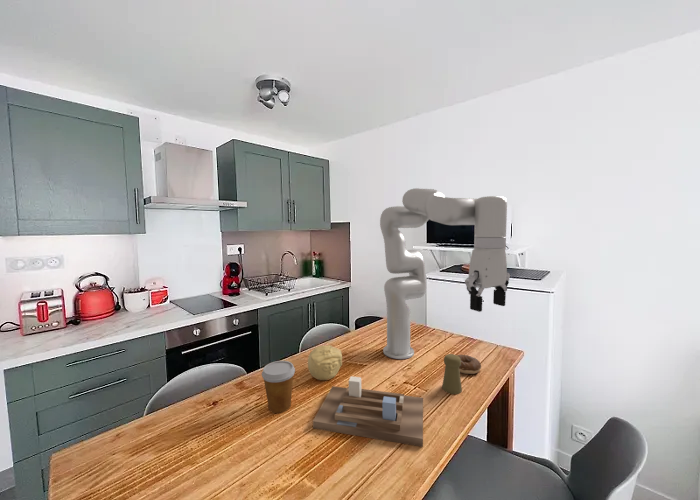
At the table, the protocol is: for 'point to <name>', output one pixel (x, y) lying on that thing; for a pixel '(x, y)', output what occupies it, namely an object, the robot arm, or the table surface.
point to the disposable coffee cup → (278, 385)
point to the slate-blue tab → (389, 408)
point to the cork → (452, 374)
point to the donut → (469, 364)
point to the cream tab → (355, 386)
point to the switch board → (371, 416)
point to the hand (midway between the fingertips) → (487, 307)
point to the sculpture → (324, 362)
